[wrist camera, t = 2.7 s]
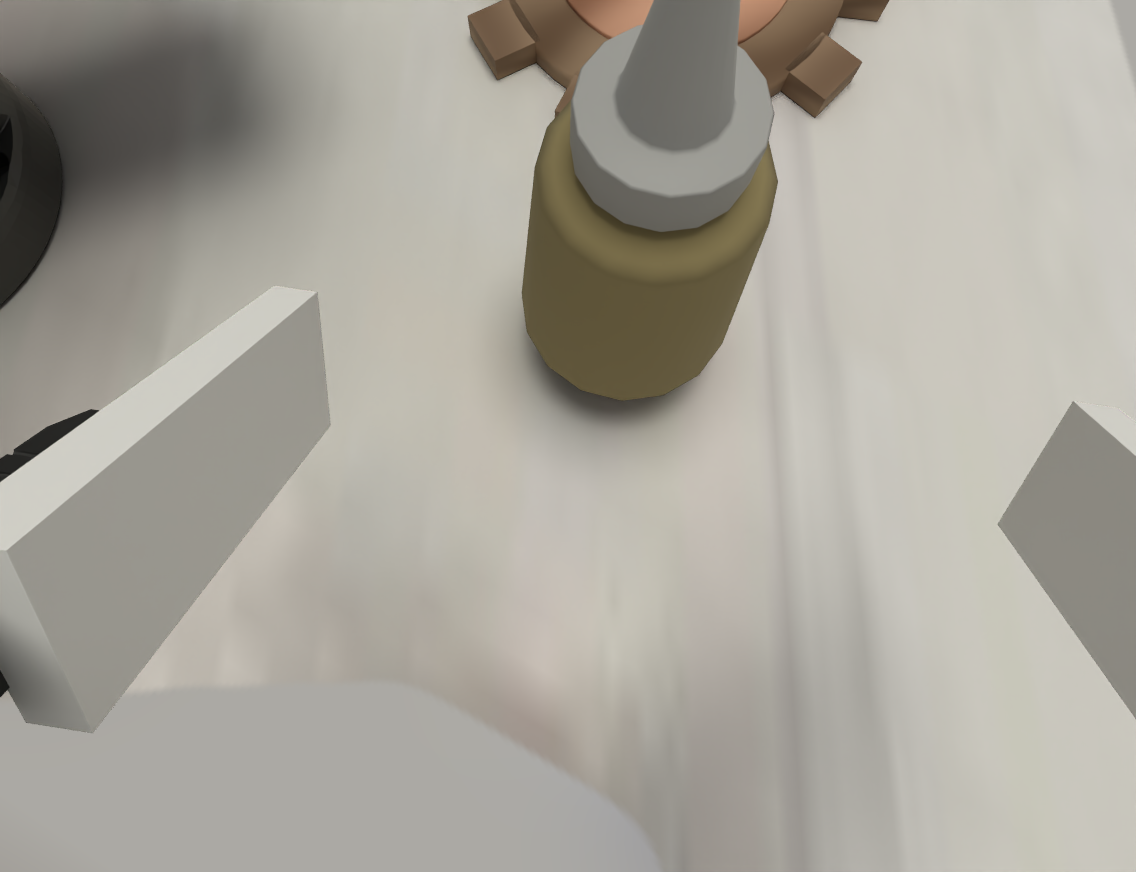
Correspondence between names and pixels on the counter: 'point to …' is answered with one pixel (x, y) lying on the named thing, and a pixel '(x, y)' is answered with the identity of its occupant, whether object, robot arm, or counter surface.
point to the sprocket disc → (619, 3)
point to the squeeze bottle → (650, 204)
